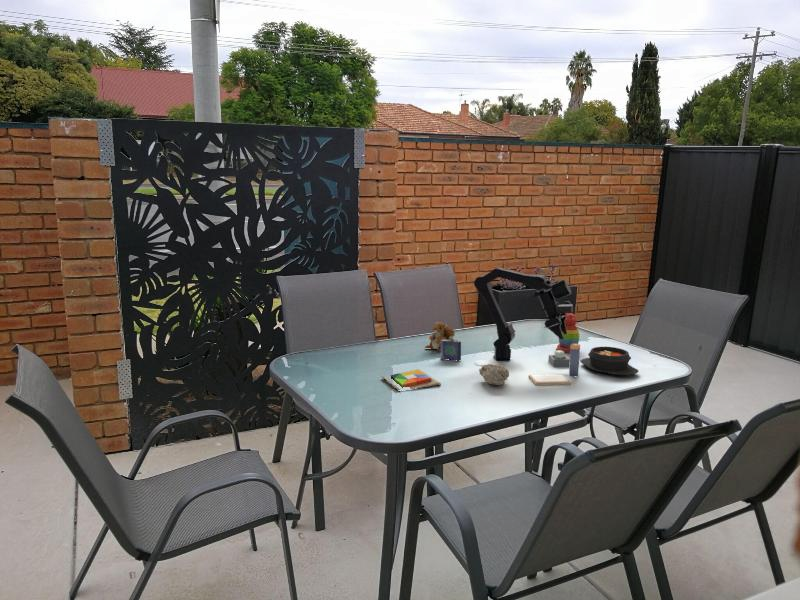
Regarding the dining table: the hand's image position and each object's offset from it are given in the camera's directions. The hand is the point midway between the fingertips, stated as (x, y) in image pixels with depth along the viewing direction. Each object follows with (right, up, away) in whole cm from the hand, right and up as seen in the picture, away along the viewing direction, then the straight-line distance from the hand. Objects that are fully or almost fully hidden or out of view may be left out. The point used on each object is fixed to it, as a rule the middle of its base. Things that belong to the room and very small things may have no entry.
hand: (564, 336), depth 254 cm
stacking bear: (+9, -8, +27) cm, 30 cm away
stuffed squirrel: (-50, -8, +31) cm, 60 cm away
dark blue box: (-47, -11, +12) cm, 50 cm away
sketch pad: (-10, -17, -16) cm, 25 cm away
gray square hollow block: (-1, -12, +6) cm, 14 cm away
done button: (-1, -11, +6) cm, 12 cm away
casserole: (+18, -14, -3) cm, 23 cm away
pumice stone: (-33, -18, -20) cm, 43 cm away
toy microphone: (+1, -15, -10) cm, 18 cm away
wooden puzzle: (-65, -18, -17) cm, 70 cm away
